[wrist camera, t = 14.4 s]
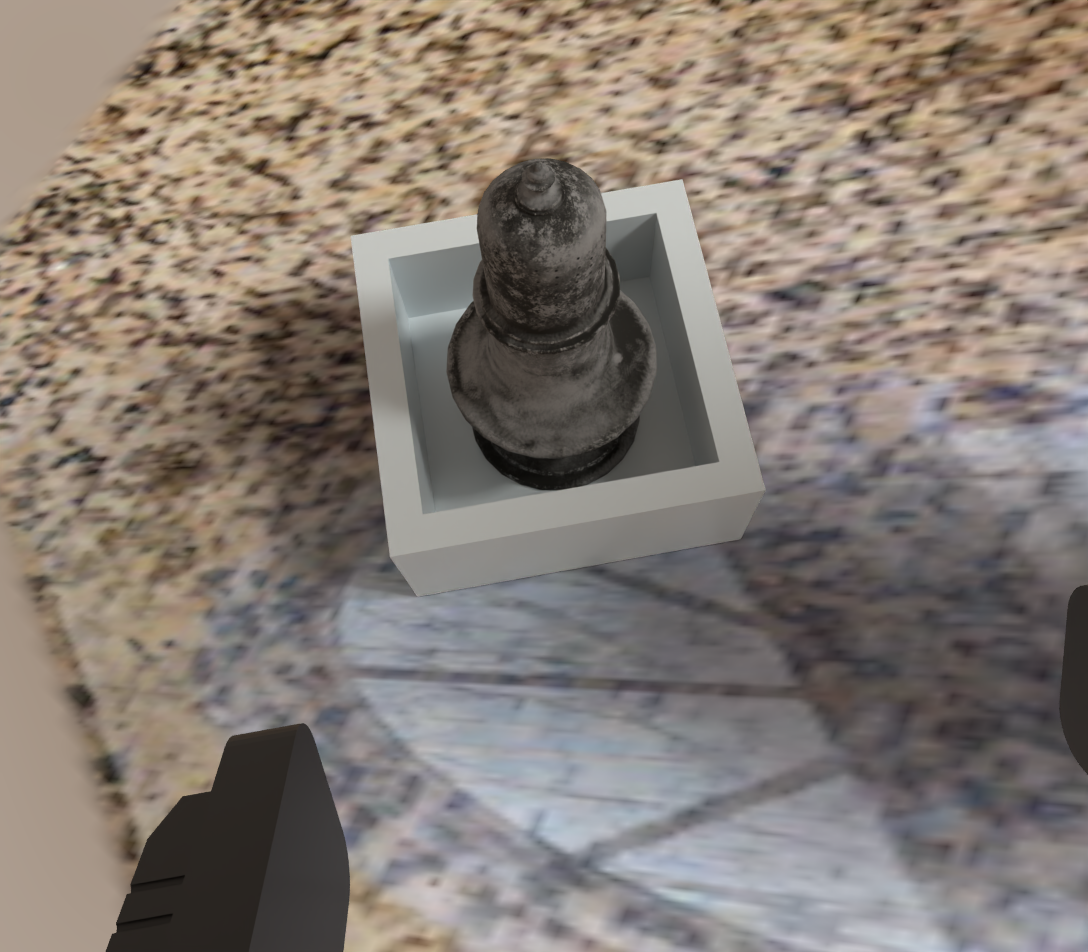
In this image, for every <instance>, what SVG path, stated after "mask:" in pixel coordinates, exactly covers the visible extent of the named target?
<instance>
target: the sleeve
mask: <svg viewBox="0 0 1088 952" xmlns="http://www.w3.org/2000/svg"><path fill="white" fill-rule="evenodd" d="M601 195H602V198H603V201H604V205H605V208H606V211H607V213H606V248H607V250H608V251H609V253H610V254H611V256H612V257H613V259H614V260H615V263H616V266H617V269H618V272H619V276H620V291H622V292H623V293H624V294H625V295H626V296H627V297H629V298H630V299H631V300H632V301H633V302H634V303H635V304H636V306H637V307H638V308H639V310H640V311H641V313H642V314H643V316H644V317H645V319H646V320H647V322H648V323H649V326H650V329H651V332H652V336H653V339H654V342H655V345H656V361H657V373H656V377H655V381H654V384H653V388H652V391H651V395H650V398H649V400H648V401H647V403H646V405H645V406H644V408H643V410H642V411H641V413H640V414H639V416H640V420H639V425H638V428H637V432H636V435H635V439H634V442H633V444H632V445H631V447H630V449H629V450H628V452H627V453H626V455H625V457H624V458H623V460H622V461H621V462H620V463H619V464H617V465H616V466H615V467H614V468H613V469H612V470H611V471H610V472H609V473H608V474H607V475H605V476H603V477H601V478H599V479H597V480H596V481H594V482H592V483H590V484H588V485H585V486H581V487H575V488H570V489H564V490H539V489H535V488H531V487H527V486H523V485H520V484H518V483H516V482H515V481H513V480H511V479H509V478H507V477H506V476H504V475H502V474H501V473H500V472H499V471H498V470H497V469H496V468H495V467H494V466H493V465H492V464H490V463H489V462H488V461H487V460H486V458H485V457H484V455H483V453H482V451H481V450H480V448H479V446H478V444H477V443H476V441H475V437H474V433H473V428H472V426H471V425H470V424H469V423H468V422H467V421H466V420H465V418H464V417H463V415H462V413H461V411H460V410H459V408H458V406H457V404H456V403H455V401H454V399H453V397H452V393H451V389H450V385H449V381H448V376H447V372H446V370H447V353H448V345H449V343H450V340H451V337H452V334H453V331H454V328H455V326H456V323H457V322H458V321H459V319H460V318H461V316H462V315H463V313H464V312H465V311H466V309H467V308H468V306H469V305H470V303H472V302H473V301H474V300H473V280H474V276H475V274H476V271H477V268H478V266H479V263H480V261H481V260H482V256H481V251H480V245H479V239H478V234H477V214H476V215H471V216H465V217H459V218H453V219H447V220H441V221H435V222H429V223H424V224H418V225H412V226H406V227H400V228H394V229H388V230H382V231H377V232H371V233H365V234H359V235H353V236H351V242H352V250H353V258H354V267H355V275H356V283H357V291H358V300H359V308H360V316H361V324H362V332H363V341H364V349H365V357H366V365H367V373H368V382H369V390H370V398H371V406H372V415H373V423H374V431H375V439H376V447H377V456H378V464H379V472H380V480H381V488H382V497H383V505H384V513H385V521H386V530H387V538H388V546H389V554H390V558H391V559H392V561H393V562H394V564H395V565H396V567H397V568H398V569H399V571H400V572H401V574H402V575H403V577H404V578H405V580H406V581H407V582H408V584H409V585H410V587H411V588H412V590H413V591H414V592H415V594H416V595H417V597H420V596H426V595H431V594H437V593H442V592H448V591H454V590H459V589H465V588H470V587H476V586H482V585H487V584H493V583H498V582H504V581H510V580H515V579H521V578H526V577H532V576H538V575H543V574H549V573H555V572H560V571H566V570H571V569H577V568H583V567H588V566H594V565H599V564H605V563H611V562H616V561H622V560H627V559H633V558H639V557H644V556H650V555H655V554H661V553H667V552H672V551H678V550H683V549H689V548H695V547H700V546H706V545H711V544H717V543H723V542H728V541H734V540H739V539H741V538H742V536H743V534H744V532H745V530H746V528H747V526H748V524H749V522H750V520H751V518H752V516H753V514H754V512H755V510H756V508H757V506H758V504H759V502H760V500H761V498H762V496H763V495H764V493H765V491H766V490H765V486H764V482H763V479H762V475H761V471H760V467H759V464H758V460H757V456H756V452H755V449H754V445H753V441H752V437H751V434H750V430H749V426H748V423H747V419H746V415H745V411H744V408H743V404H742V400H741V396H740V393H739V389H738V385H737V381H736V378H735V374H734V370H733V367H732V363H731V359H730V355H729V352H728V348H727V344H726V340H725V337H724V333H723V329H722V326H721V322H720V318H719V314H718V311H717V307H716V303H715V299H714V296H713V292H712V288H711V284H710V281H709V277H708V273H707V270H706V266H705V262H704V258H703V255H702V251H701V247H700V243H699V240H698V236H697V232H696V229H695V225H694V221H693V217H692V214H691V210H690V206H689V202H688V199H687V195H686V191H685V187H684V184H683V180H676V181H670V182H664V183H659V184H653V185H647V186H641V187H635V188H629V189H623V190H617V191H612V192H606V193H601Z"/></svg>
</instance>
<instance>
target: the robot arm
mask: <svg viewBox="0 0 1088 952" xmlns="http://www.w3.org/2000/svg"><path fill="white" fill-rule="evenodd" d="M1059 709H1060V719H1061V724H1062V728H1063V732H1064V735H1065V738H1066V741H1067V743H1068V745H1069V748H1070V750H1071V752H1072V753H1073V755H1074V757H1075V759H1076V760H1077V762H1078V763H1079V765H1080V766H1081V767H1082V768H1083V770H1084V771H1085V772H1086V773H1087V774H1088V585H1084V586H1080V587H1078V588H1076V589H1075V590H1074V591H1073V593H1072V595H1071V597H1070V600H1069V604H1068V611H1067V623H1066V634H1065V646H1064V657H1063V669H1062V681H1061V692H1060V708H1059ZM349 895H350V874H349V861H348V853H347V847H346V842H345V837H344V834H343V830H342V827H341V824H340V820H339V817H338V814H337V811H336V808H335V804H334V801H333V798H332V795H331V792H330V788H329V785H328V782H327V779H326V776H325V772H324V769H323V766H322V763H321V760H320V757H319V753H318V750H317V747H316V744H315V741H314V738H313V735H312V733H311V731H310V729H309V728H308V726H307V725H306V724H304V723H301V724H296V725H290V726H285V727H279V728H274V729H268V730H262V731H257V732H251V733H246V734H240V735H235V736H232V737H230V738H229V740H228V741H227V743H226V746H225V748H224V752H223V755H222V758H221V761H220V764H219V768H218V771H217V774H216V777H215V781H214V784H213V787H212V790H211V791H210V792H205V793H199V794H194V795H188V796H183V797H182V798H181V799H180V800H179V802H178V803H177V804H176V805H175V806H174V808H173V809H172V810H171V811H170V812H169V814H168V815H167V816H166V817H165V818H164V820H163V821H162V822H161V823H160V825H159V826H158V827H157V828H156V829H155V831H154V832H153V833H152V834H151V835H150V837H149V838H148V839H147V842H146V844H145V847H144V850H143V852H142V855H141V858H140V861H139V863H138V866H137V869H136V871H135V874H134V877H133V879H132V882H131V894H127V895H126V898H125V901H124V904H123V906H122V909H121V912H120V914H119V917H118V920H117V922H116V925H117V932H116V933H114V934H112V936H111V939H110V941H109V944H108V947H107V949H106V952H343V950H344V941H345V932H346V923H347V914H348V906H349Z"/></svg>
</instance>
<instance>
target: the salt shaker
mask: <svg viewBox="0 0 1088 952" xmlns="http://www.w3.org/2000/svg"><path fill="white" fill-rule="evenodd" d="M606 213H607V211H606V208H605V205H604V201H603V198H602V195H601V192H600V190H599V188H598V187H597V185H596V184H595V182H594V181H593V179H592V178H591V177H590V176H588V175H587V174H586V173H585V172H584V171H582V170H581V169H580V168H577V167H575V166H573V165H571V164H569V163H567V162H564V161H559V160H554V159H533V160H529V161H525V162H521V163H519V164H517V165H515V166H513V167H511V168H509V169H507V170H505V171H504V172H503V173H501V174H500V175H499V176H498V177H497V178H495V179H494V180H493V181H492V182H491V184H490V185H489V187H488V188H487V189H486V191H485V192H484V194H483V197H482V199H481V202H480V205H479V209H478V214H477V234H478V239H479V245H480V251H481V256H482V260H481V261H480V263H479V266H478V268H477V271H476V274H475V276H474V280H473V300H474V301H473V302H472V303H470V305H469V306H468V308H467V309H466V311H465V312H464V313H463V315H462V316H461V318H460V319H459V321H458V322H457V323H456V326H455V328H454V331H453V334H452V337H451V340H450V343H449V345H448V353H447V370H446V372H447V376H448V381H449V385H450V389H451V393H452V397H453V399H454V401H455V403H456V404H457V406H458V408H459V410H460V411H461V413H462V415H463V417H464V418H465V420H466V421H467V422H468V423H469V424H470V425H471V426H472V428H473V433H474V437H475V441H476V443H477V444H478V446H479V448H480V450H481V451H482V453H483V455H484V457H485V458H486V460H487V461H488V462H489V463H490V464H492V465H493V466H494V467H495V468H496V469H497V470H498V471H499V472H500V473H501V474H502V475H504V476H506V477H507V478H509V479H511V480H513V481H515V482H516V483H518V484H520V485H523V486H527V487H531V488H535V489H539V490H564V489H570V488H575V487H581V486H585V485H588V484H590V483H592V482H594V481H596V480H597V479H599V478H601V477H603V476H605V475H607V474H608V473H609V472H610V471H611V470H612V469H613V468H614V467H615V466H616V465H617V464H619V463H620V462H621V461H622V460H623V458H624V457H625V455H626V453H627V452H628V450H629V449H630V447H631V445H632V444H633V442H634V439H635V435H636V432H637V428H638V425H639V420H640V416H639V414H640V413H641V411H642V410H643V408H644V406H645V405H646V403H647V401H648V400H649V398H650V395H651V391H652V388H653V384H654V381H655V377H656V373H657V361H656V345H655V342H654V339H653V336H652V332H651V329H650V326H649V323H648V322H647V320H646V319H645V317H644V316H643V314H642V313H641V311H640V310H639V308H638V307H637V306H636V304H635V303H634V302H633V301H632V300H631V299H630V298H629V297H627V296H626V295H625V294H624V293H623V292H622V291H620V276H619V272H618V269H617V266H616V263H615V260H614V259H613V257H612V256H611V254H610V253H609V251H608V250H607V248H606Z"/></svg>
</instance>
